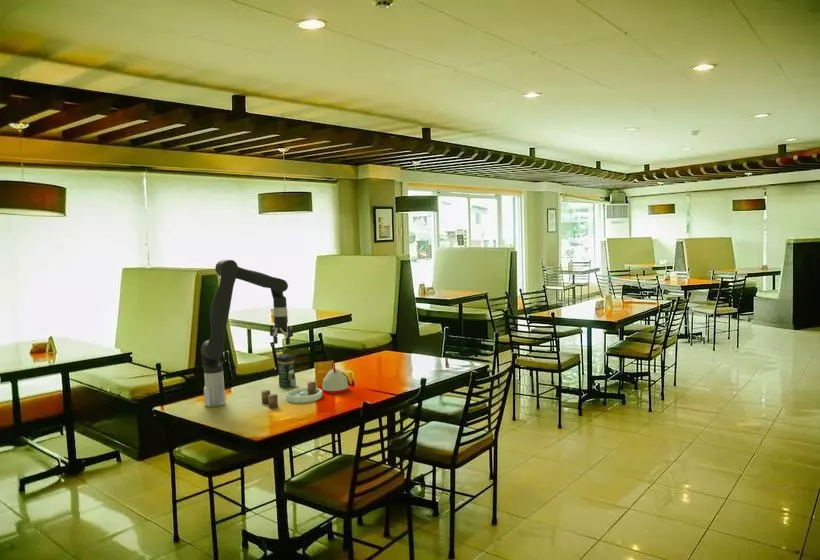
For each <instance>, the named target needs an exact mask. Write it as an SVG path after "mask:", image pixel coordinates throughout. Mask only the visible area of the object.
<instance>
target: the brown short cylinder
mask: <svg viewBox="0 0 820 560" xmlns="http://www.w3.org/2000/svg"><path fill="white" fill-rule="evenodd" d="M268 399H269V403H268V409H277V408H279V399H278V394H277V393H273V394H271V393H270V395H268Z"/></svg>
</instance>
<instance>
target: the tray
mask: <svg viewBox="0 0 820 560" xmlns="http://www.w3.org/2000/svg"><path fill="white" fill-rule="evenodd" d="M322 397H323V389H321V388H319V387H316V394H314V395H308V386H307V387H299V388H298V387H297V388H295V389H290V390H288V391H287V392H285V398H286V400H285V401H286V402H288V403H291V404H304V403H312V402H315V401H318V400H320V399H322Z"/></svg>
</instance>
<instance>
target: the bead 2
mask: <svg viewBox="0 0 820 560" xmlns="http://www.w3.org/2000/svg"><path fill="white" fill-rule="evenodd" d="M307 387H308V395H314V394H316V388H317V382H316V381H309V382H307Z"/></svg>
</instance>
